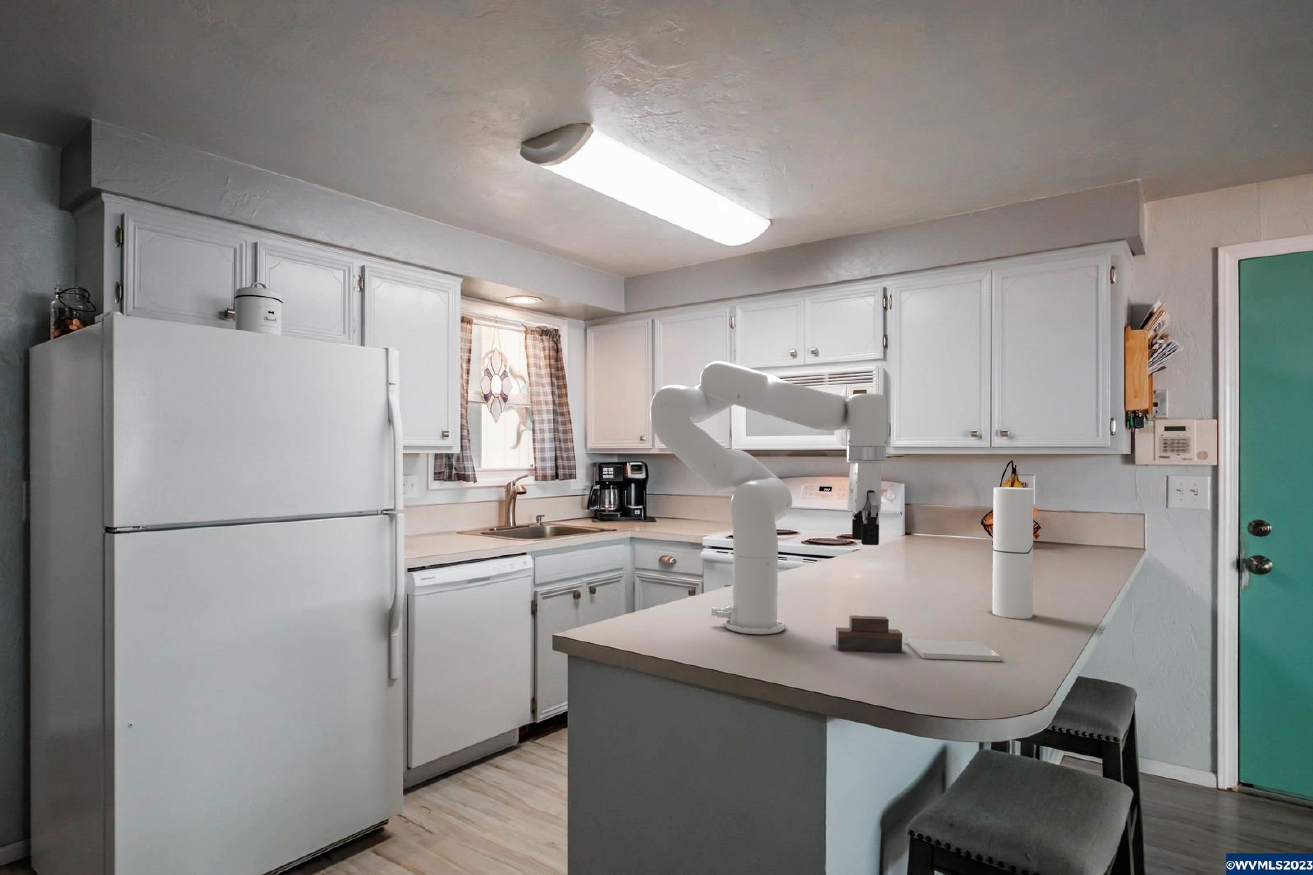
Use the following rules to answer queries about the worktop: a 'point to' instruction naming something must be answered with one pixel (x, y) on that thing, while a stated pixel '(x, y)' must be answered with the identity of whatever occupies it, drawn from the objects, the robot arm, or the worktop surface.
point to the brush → (869, 635)
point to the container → (1013, 552)
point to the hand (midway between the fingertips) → (864, 541)
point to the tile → (953, 650)
